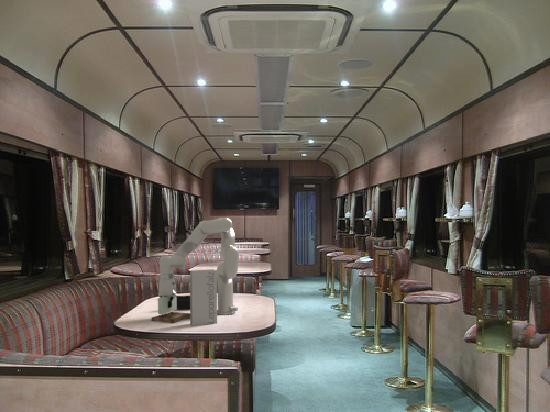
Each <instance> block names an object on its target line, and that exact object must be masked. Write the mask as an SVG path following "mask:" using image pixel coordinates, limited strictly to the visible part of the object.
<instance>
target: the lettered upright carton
mask: <svg viewBox="0 0 550 412" xmlns="http://www.w3.org/2000/svg"><path fill="white" fill-rule="evenodd" d="M189 295H190V310H189V313H190V318H189V319H190V320H189V324H190V325H191V326H192V327H194V326H205V325H212V324H213V325H214V324H218V314H217V310H218V279H217V269H213V268H212V269H210V268H209V269H193V270H191V269H190V270H189Z"/></svg>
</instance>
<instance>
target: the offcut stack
mask: <svg viewBox="0 0 550 412" xmlns="http://www.w3.org/2000/svg"><path fill="white" fill-rule="evenodd" d="M186 313H187V312H181V313H179V314H176V315H174V316H171V318H170V319H175V318H178V317H181V316H184V315H186Z"/></svg>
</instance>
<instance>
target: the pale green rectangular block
mask: <svg viewBox="0 0 550 412" xmlns="http://www.w3.org/2000/svg"><path fill="white" fill-rule="evenodd" d="M170 298H171V297H170ZM175 311H178V310H177V298H176V297H175V298H174V299H173V301H172V307H171V308H168V296H166V297H162V298H160V297H158V298H157V314H158V315H162V314H166V313H169V312H175Z"/></svg>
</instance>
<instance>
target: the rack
mask: <svg viewBox="0 0 550 412" xmlns="http://www.w3.org/2000/svg"><path fill="white" fill-rule="evenodd" d="M179 313H182V312H180V311H179V312H178V311H171V312H168V313H164V314H158V315H155V316H152V317H151V322H158V321H159V322H160V323H167V324H169V323H170V324H174V323H177V322H178V323H179V322H180V321H184V320H187V319H190V312H185V313H186V315H184V316H181V317H178V318H175V319H170V318H171V316H174V315H176V314H179ZM159 322H158V323H159Z"/></svg>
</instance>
